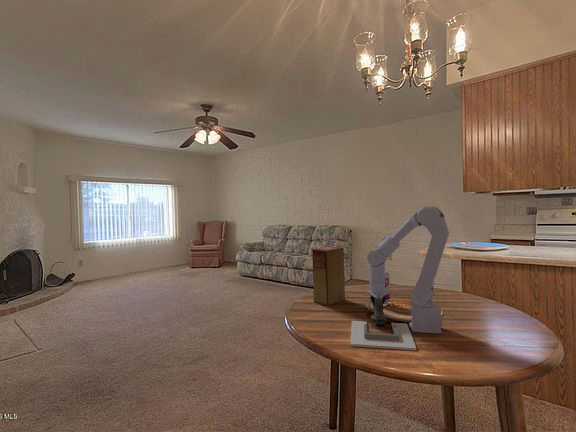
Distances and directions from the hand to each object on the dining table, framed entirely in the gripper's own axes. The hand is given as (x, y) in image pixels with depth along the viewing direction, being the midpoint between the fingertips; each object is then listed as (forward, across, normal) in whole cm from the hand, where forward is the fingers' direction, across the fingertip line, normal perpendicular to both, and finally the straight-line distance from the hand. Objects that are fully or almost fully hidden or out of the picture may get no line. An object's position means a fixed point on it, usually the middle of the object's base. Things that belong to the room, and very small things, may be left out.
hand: (378, 314), depth 123 cm
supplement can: (+2, -19, +2) cm, 20 cm away
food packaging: (+2, -21, -21) cm, 30 cm away
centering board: (+2, +15, 0) cm, 15 cm away
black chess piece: (+2, +7, 0) cm, 7 cm away
